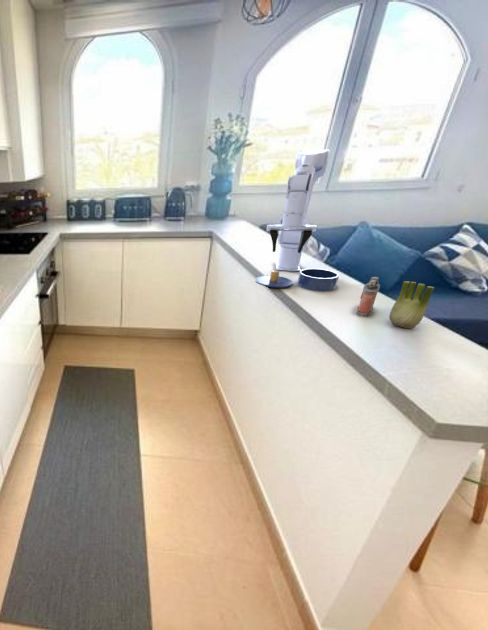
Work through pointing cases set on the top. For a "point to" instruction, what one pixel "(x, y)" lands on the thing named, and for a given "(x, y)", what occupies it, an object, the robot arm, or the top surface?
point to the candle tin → (318, 279)
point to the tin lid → (274, 280)
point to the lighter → (368, 297)
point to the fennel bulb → (410, 305)
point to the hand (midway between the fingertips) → (286, 251)
